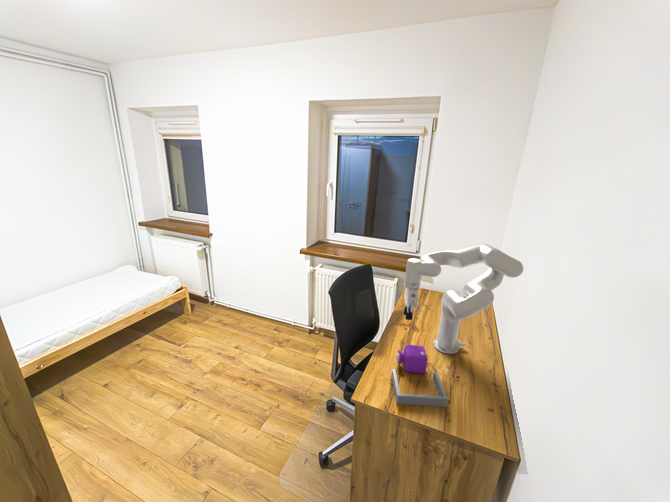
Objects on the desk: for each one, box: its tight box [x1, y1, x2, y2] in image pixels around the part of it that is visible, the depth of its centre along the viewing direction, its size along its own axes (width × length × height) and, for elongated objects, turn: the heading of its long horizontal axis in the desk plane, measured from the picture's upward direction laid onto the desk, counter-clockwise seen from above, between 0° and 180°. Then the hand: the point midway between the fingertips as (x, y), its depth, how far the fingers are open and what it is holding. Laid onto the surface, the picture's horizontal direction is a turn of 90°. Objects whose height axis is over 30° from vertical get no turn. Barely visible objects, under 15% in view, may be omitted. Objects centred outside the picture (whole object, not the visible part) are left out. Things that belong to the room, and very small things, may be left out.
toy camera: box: [395, 344, 428, 375], centre depth 132 cm, size 11×14×10 cm
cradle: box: [391, 368, 449, 408], centre depth 118 cm, size 19×15×4 cm
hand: (407, 316), depth 143 cm, fingers open, 3 cm apart
